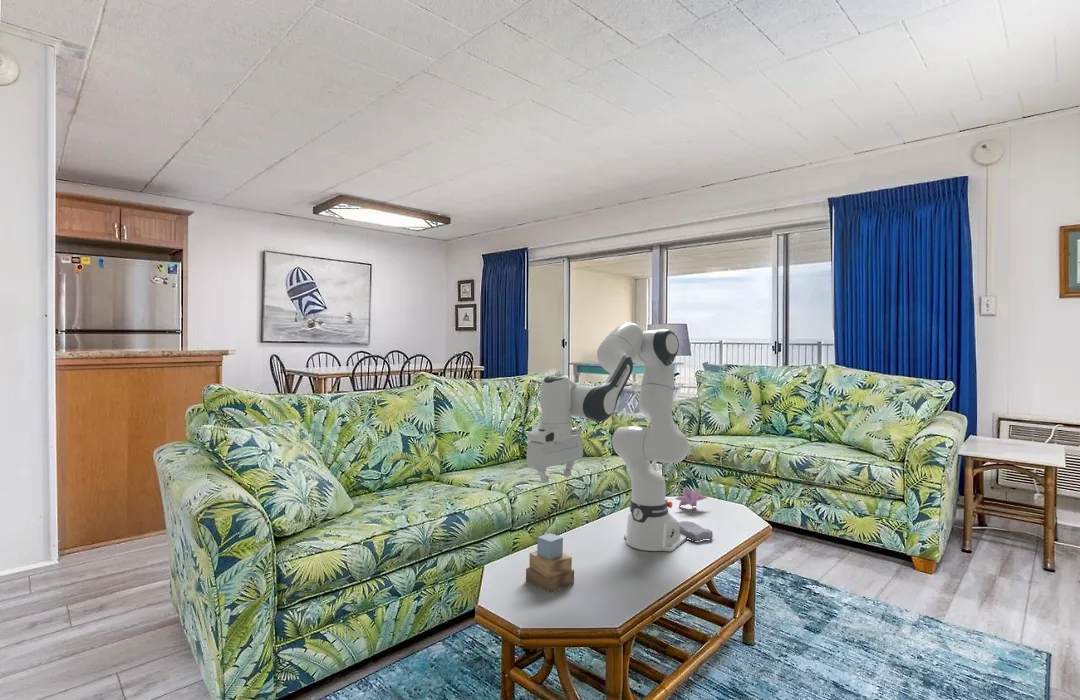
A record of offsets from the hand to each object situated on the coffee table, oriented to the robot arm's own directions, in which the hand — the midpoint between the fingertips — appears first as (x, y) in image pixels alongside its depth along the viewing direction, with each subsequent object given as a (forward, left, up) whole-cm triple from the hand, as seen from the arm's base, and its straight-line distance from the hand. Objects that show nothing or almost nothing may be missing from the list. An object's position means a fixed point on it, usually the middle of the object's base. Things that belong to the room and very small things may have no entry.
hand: (556, 479), depth 161 cm
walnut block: (+5, +3, -28) cm, 29 cm away
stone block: (-60, +10, -28) cm, 67 cm away
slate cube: (+5, +3, -20) cm, 21 cm away
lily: (-87, -7, -28) cm, 91 cm away
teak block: (+5, +3, -24) cm, 25 cm away
